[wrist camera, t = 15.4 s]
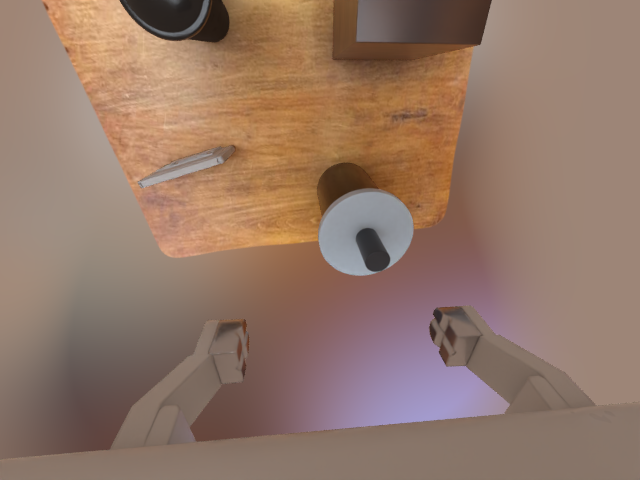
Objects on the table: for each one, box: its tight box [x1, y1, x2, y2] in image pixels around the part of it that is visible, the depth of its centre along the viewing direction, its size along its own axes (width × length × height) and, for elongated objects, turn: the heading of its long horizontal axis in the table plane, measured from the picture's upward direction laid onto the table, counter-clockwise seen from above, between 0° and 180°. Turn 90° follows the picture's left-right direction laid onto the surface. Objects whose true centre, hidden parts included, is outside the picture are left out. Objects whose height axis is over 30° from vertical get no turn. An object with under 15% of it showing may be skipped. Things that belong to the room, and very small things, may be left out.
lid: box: [318, 188, 413, 275], centre depth 29 cm, size 11×11×6 cm
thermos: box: [317, 163, 379, 217], centre depth 39 cm, size 9×9×16 cm
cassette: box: [138, 145, 235, 188], centre depth 38 cm, size 12×2×8 cm, turn 106°
